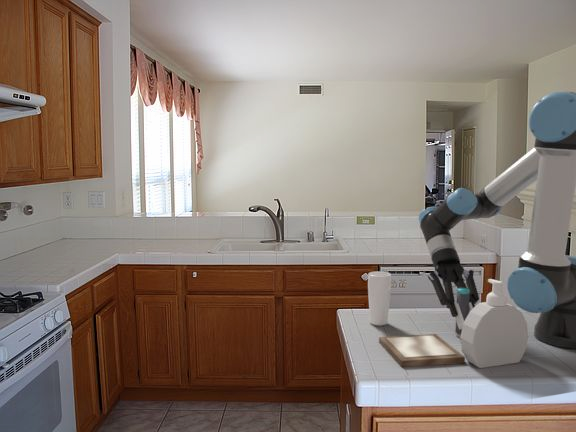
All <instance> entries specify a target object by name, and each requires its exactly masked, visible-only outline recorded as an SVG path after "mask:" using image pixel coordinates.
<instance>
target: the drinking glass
mask: <svg viewBox="0 0 576 432" xmlns="http://www.w3.org/2000/svg"><path fill="white" fill-rule="evenodd" d="M367 275H368V277H367V294H368V296H367V297H368V311H369V313H368V314H369V323H370V324H371V325H373V326H378V327H379V326H382V327H383V326H386V325H387V324H388V322H389V321H388V320H389V310H390V309H389V308H390V299H391V292H392V274H391V272H388V271H379V270H378V271H370V272H368V274H367Z"/></svg>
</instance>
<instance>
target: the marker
mask: <svg viewBox="0 0 576 432" xmlns="http://www.w3.org/2000/svg"><path fill="white" fill-rule="evenodd" d="M469 293H470V289H468V287H467V288H457V289H456V303H458V304H459V307H460V310H461V313H462V316H463V319H464V321H465V319H466V317H467V316H468V314H469ZM454 330H455V334H456V335H455V337H457V338H459V339H460V337H461V332H462V329H459V328H458V325H457V322H456V321H455V328H454Z"/></svg>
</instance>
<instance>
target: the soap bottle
mask: <svg viewBox="0 0 576 432" xmlns="http://www.w3.org/2000/svg"><path fill="white" fill-rule="evenodd" d="M487 283H490V284H492V285H491V286H492V287H491V288H492V289H491V292H489V293H488V294H487V295H486V301H484V302H478V304H477V303H476V304H475V307H474V308H473V309H472V310H471V311H470V312H469V314H468V316H467V317H466V319H465V321H464V323H463V327H462V332H461V337H460V338H459V339H460V346H461V352H462V353H463V354H462V355H463V356H464V357H465V360H466V361H467V362H469V363H471V364H473V365H474V366H475V367H477V368H478V369H484V368H493V367H499V366H506V365H511V364H519V363H520V361H521V360H522V357H523V356H524V355H525V352H526V349H527V345H528V341H529V331H528V323H527V320H526V319H525V316H524V314H523V312H522V311H521V310H520V309H518V307H515V306H514V305H512V304H509V303H507V296H506V295H505V294H504V293H502V290H503V281H501V280H497V279H493V278H488V279H487Z"/></svg>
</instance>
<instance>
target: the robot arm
mask: <svg viewBox="0 0 576 432" xmlns="http://www.w3.org/2000/svg"><path fill="white" fill-rule="evenodd" d="M528 127H529V130H530V132H531V133H532V135H533V136H534V137H535V140H534V147H532V148H531V149H530V150H529V151H527V152H526V153H525V154H523V156H521V157H520V158H519V159H518V160H516V161H515V162H514V163H513V164H512V165H510V166H509V167H508V168H506V170H504V171H503V172H502V173H501V174H499V175H498V176H497V177H495V178H494V179H493V180H492V181H490V183H488V184H487V185H486V186H485V187H484V188H482V189H481V190H479V191H478V192H477V193H473V192H472V191H471V190H470V189H466V188H464V187H459V188H456V189H455V190H454V191H453V192H452V193H450V194H449V195H448V196H447V198H445V199H444V200H443V201H442V203H440V205H438V206H429V207H426V208H425V209H422V210H421V211H420V213H419V215H418V222H419V227H420V229H421V233H422V234H423V235H422V236H423V237H424V240H425V243H426V247H427V250H428V252H429V256H430V257H431V262H432V266H433V267H434V271H433V270H431V271H430V272H429V273H428V275H427V278H428V279H429V281H430V282H431V284H432V286H433V288H434V290H435V293H436V296H437V297H438V301H439V303H440V305H441V306H446V308H447V310H449V311H450V315H451V317H452V318H454V319H455V323H456V322H457V325H458V328H459V329H462V327H463V323H464V319H463V316H462V313H461V310H460V307H459V304H458V303H457V302H456V303H455V296H454V290H453V284H454V286H455V287H457V288H468V289H470V293H469V312H470V311H471V310H472V309H473V308H474V307H475V306H476V305H477V303H478V301H479V300H480V296H479V293H478V289H477V285H476V282H475V279H474V270H473V269H470V270H466V269H465V268H464V267H463V266H462V264H461V259H460V256H459V254H458V252H457V250H456V246H455V243H454V241H453V239H452V235H451V233H450V231H451V230H452V229H454V228H455V227H456V226H457V225H458V224H459V223H460V222H462V221H466V220H473V219H474V220H476V219H489V218H492V217H496V216H497V215H499V214H500V213H501V211H502V208H503V206H504V205H505V204H507V203H508V202H509V201H511V200H512V199H514V198H516V197H517V196H518V195H519V194H520V193H523V191H524V190H526V189H527V188H529V187H530V186H531V185H532V184H534V183H536V184H535V191H534V196H533V197H534V198H533V205H532V206H533V207H532V213H531V219H530V227H529V234H528V241H527V249H526V250H525V251H523V252H521V253H520V255H519V258H518V259H519V260H518V267H517V268H515V269H514V270H513V271H512V272H511V273H510V275H509V276H508V278H507V282H506V283H507V284H506V285H507V286H506V287H507V292H508V294H509V296H510V299H511V300H512V301H513V302H514V304H515V305H516V306H517V308H520V309H521V310H523V311H525V312H527V313H531V314H539V316H538V318H537V321H536V324H535V325H534V329H533V336H534V337H535V338H536V339H537V340H538V341H541V342H542V343H546V344H548V345H551V346H554V347H555V346H556V347H560V348H565V349H575V350H576V256H574V255H573V256H572V255H567V254H566V252H567V250H566V249H567V244H568V237H569V231H570V225H571V219H572V212H573V205H574V198H575V192H576V92H573V91H567V90H565V91H556V92H550V93H549V94H545V95H543V97H541V98H540V100H538V101H537V102H536V103H535V104H534V105H533V107H532V109H531V111H530V114H529V117H528ZM463 275H464V277H463ZM441 280H442V283H441Z"/></svg>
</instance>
